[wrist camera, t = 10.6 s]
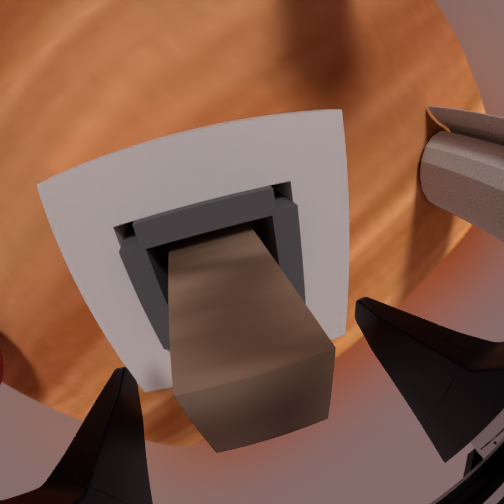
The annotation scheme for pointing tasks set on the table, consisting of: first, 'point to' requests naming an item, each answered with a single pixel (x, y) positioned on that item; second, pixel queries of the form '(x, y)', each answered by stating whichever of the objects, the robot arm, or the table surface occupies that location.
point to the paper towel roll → (467, 168)
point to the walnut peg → (243, 341)
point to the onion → (1, 367)
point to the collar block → (203, 221)
